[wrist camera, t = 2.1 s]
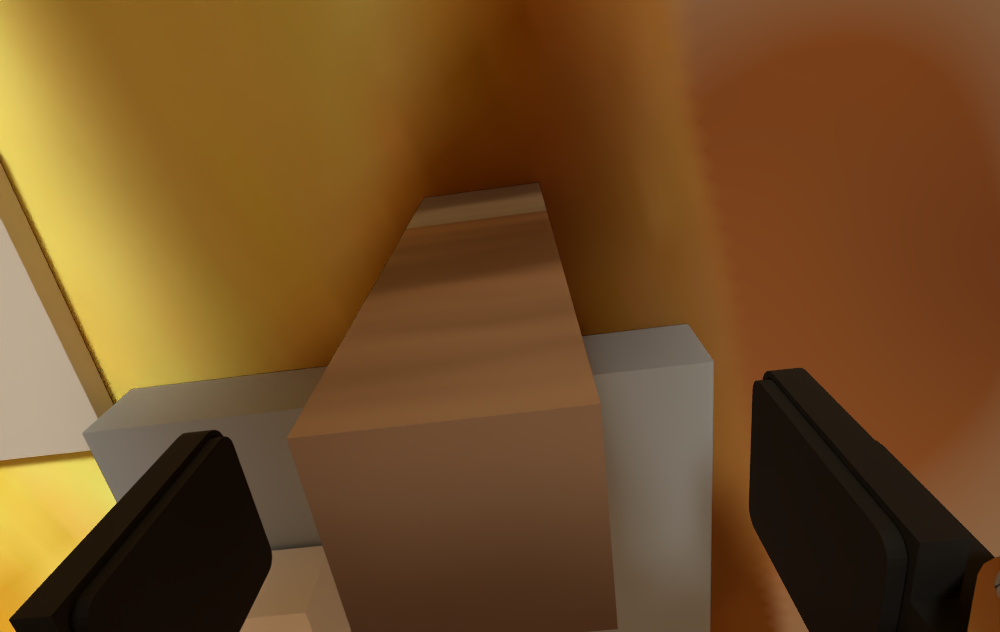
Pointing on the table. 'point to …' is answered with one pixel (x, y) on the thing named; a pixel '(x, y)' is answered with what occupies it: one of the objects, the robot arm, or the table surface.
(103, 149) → the table surface
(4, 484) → the table surface
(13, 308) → the mat
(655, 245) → the table surface
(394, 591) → the block
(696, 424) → the switch board
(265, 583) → the switch tab
